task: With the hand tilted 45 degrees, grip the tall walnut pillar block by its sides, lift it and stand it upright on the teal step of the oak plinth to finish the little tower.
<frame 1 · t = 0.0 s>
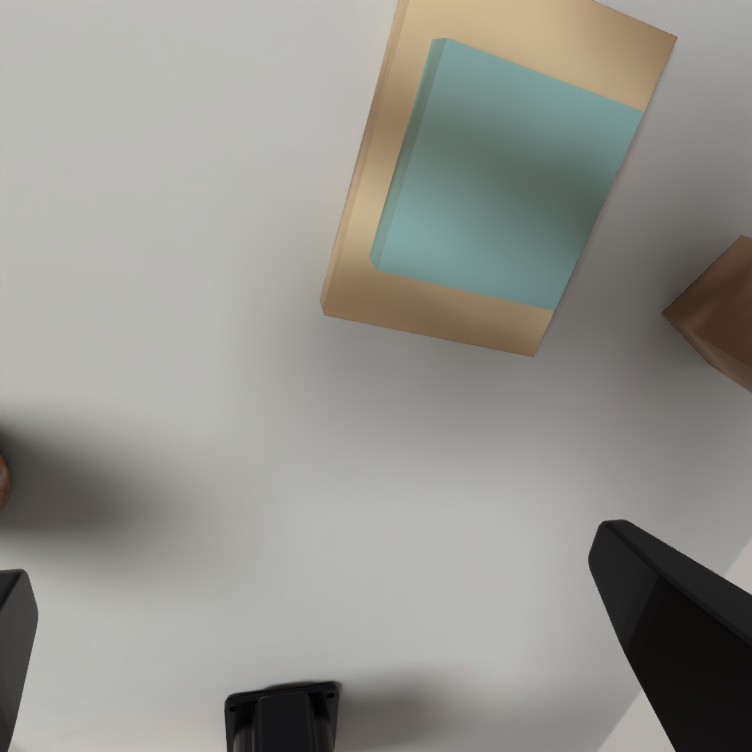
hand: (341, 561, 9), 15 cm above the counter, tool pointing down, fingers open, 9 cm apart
pillar: (725, 303, 27), on the counter
plinth: (476, 176, 21), on the counter
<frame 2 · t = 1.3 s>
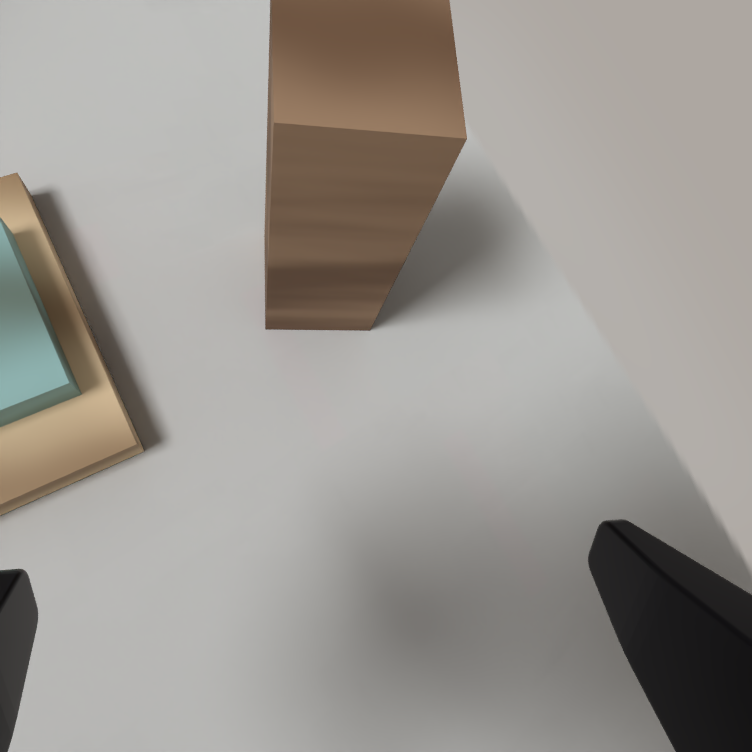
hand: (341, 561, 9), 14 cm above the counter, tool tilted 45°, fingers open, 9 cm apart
pillar: (316, 282, 26), on the counter
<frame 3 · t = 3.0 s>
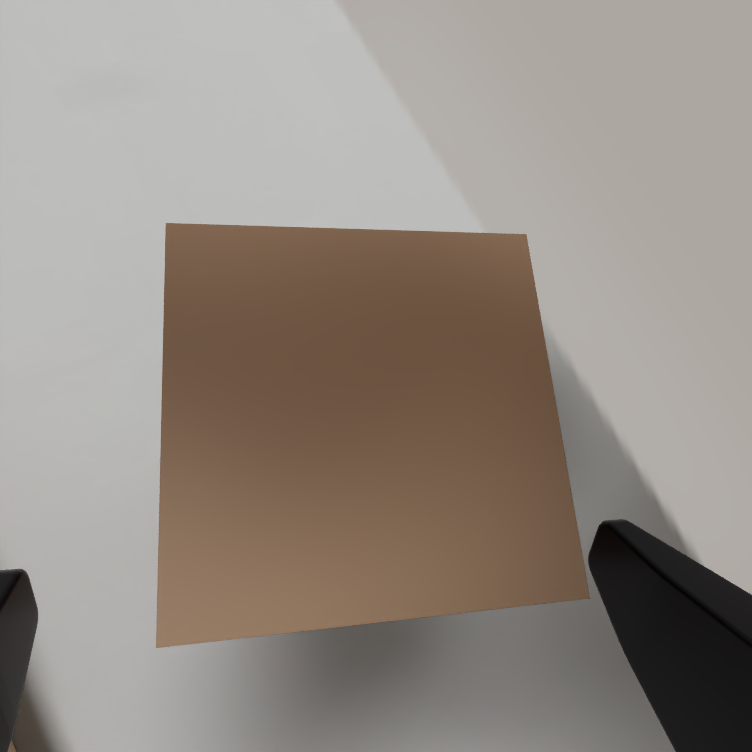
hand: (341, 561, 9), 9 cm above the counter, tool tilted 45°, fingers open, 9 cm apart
pillar: (298, 502, 18), on the counter
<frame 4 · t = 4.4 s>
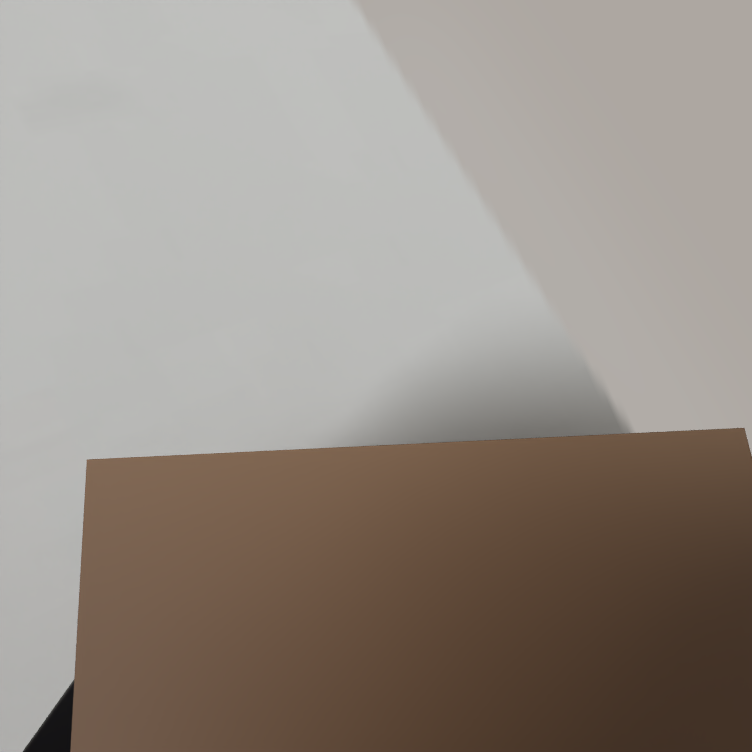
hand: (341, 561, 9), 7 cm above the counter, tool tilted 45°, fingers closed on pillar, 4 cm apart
pillar: (309, 613, 15), on the counter, touching gripper
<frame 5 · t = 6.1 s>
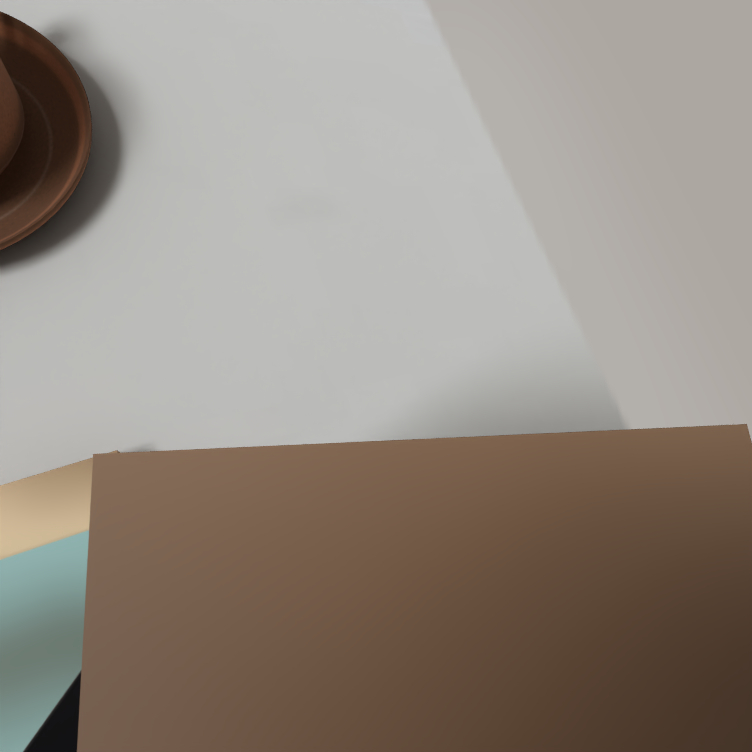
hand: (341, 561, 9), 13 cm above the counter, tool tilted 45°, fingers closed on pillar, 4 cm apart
pillar: (310, 612, 15), point 7 cm above the counter, touching gripper
plinth: (30, 671, 19), on the counter
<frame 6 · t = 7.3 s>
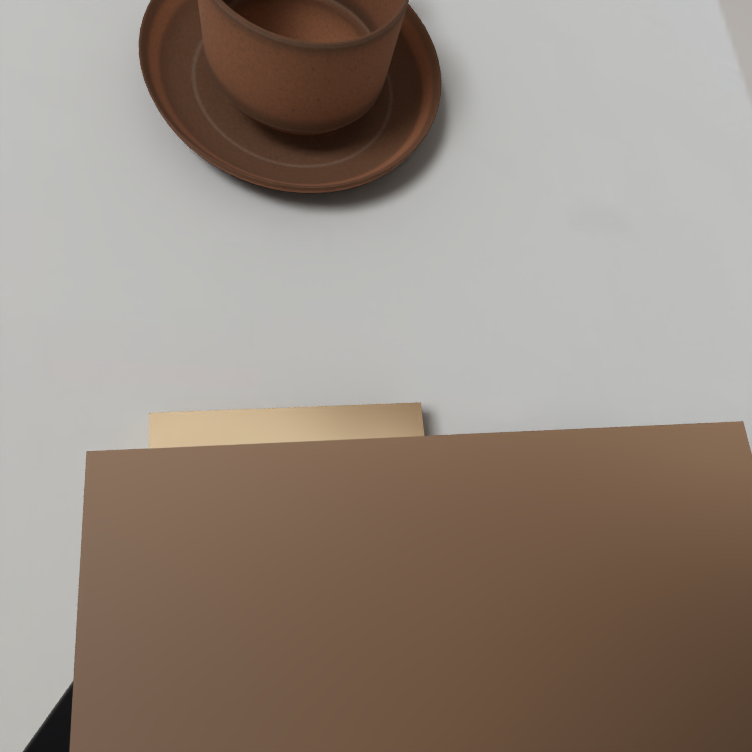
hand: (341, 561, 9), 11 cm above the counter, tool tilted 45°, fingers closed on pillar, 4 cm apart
cup and saucer: (294, 95, 25), on the counter
pillar: (309, 611, 15), point 4 cm above the counter, touching gripper
plinth: (297, 593, 19), on the counter
when the fingers open (10 cm above the counter, at t = 7.8 s): pillar stays where it is, resting on plinth.
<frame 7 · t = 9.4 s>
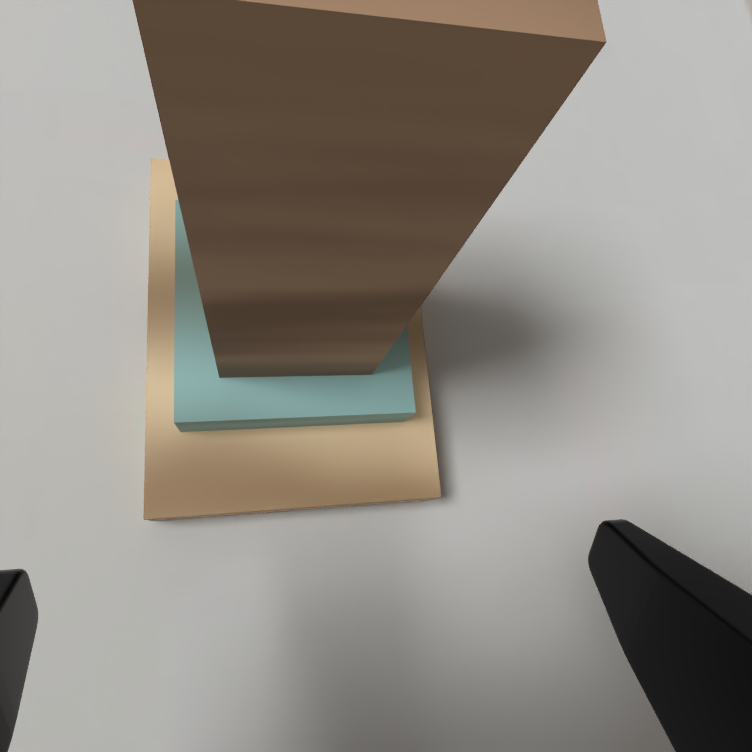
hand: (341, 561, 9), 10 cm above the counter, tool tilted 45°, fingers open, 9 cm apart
pillar: (294, 305, 18), point 3 cm above the counter, touching plinth
plinth: (289, 337, 21), on the counter
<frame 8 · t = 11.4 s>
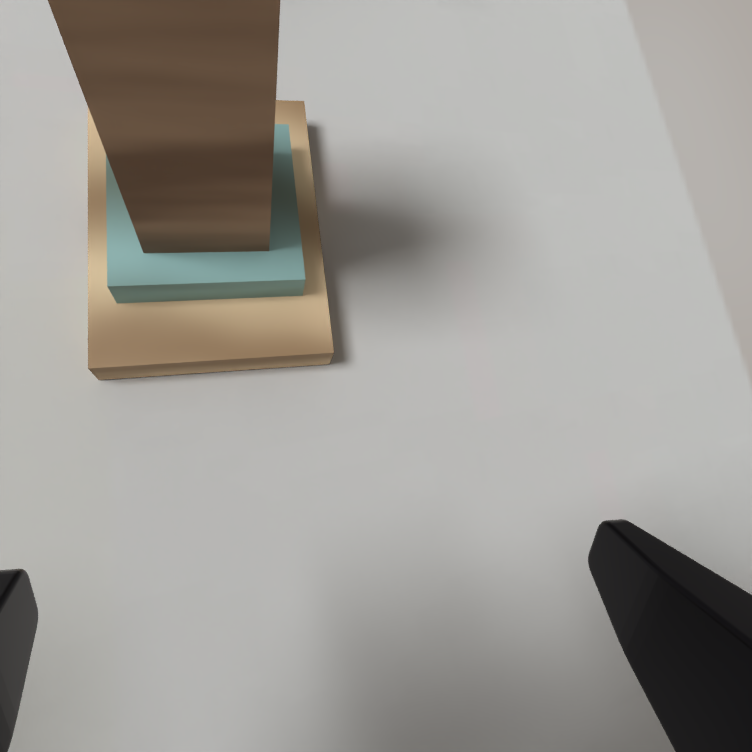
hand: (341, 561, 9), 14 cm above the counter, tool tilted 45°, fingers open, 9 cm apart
pillar: (205, 199, 22), point 3 cm above the counter, touching plinth
plinth: (210, 238, 25), on the counter
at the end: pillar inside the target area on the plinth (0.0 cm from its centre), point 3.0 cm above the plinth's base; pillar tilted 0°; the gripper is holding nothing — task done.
